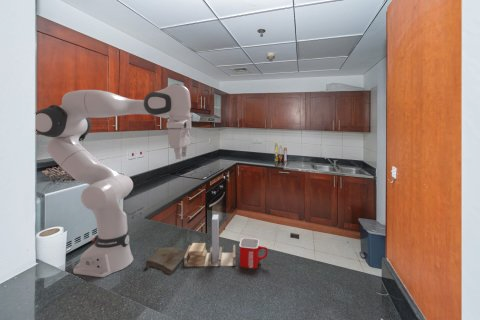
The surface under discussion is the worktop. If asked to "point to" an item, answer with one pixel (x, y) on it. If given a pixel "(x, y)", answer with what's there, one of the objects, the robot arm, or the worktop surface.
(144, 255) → the worktop surface
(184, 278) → the worktop surface
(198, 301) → the worktop surface
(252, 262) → the mug
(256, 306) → the worktop surface
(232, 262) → the offcut rack
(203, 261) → the offcut stack
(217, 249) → the tall board
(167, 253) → the brown flat slab
